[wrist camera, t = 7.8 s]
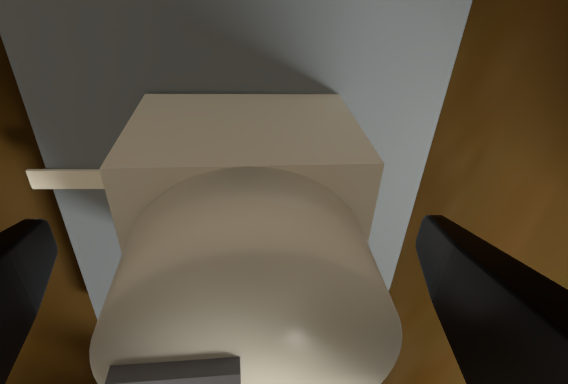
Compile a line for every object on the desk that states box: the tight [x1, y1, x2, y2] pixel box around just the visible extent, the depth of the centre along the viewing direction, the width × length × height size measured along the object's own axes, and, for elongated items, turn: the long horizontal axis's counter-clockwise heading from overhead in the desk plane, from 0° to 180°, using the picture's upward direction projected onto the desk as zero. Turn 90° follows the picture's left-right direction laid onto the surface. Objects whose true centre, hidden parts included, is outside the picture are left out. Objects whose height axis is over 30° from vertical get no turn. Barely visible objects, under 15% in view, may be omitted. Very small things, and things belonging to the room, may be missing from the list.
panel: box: [0, 0, 472, 320], centre depth 10 cm, size 12×13×5 cm
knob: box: [89, 94, 402, 384], centre depth 9 cm, size 5×5×6 cm
